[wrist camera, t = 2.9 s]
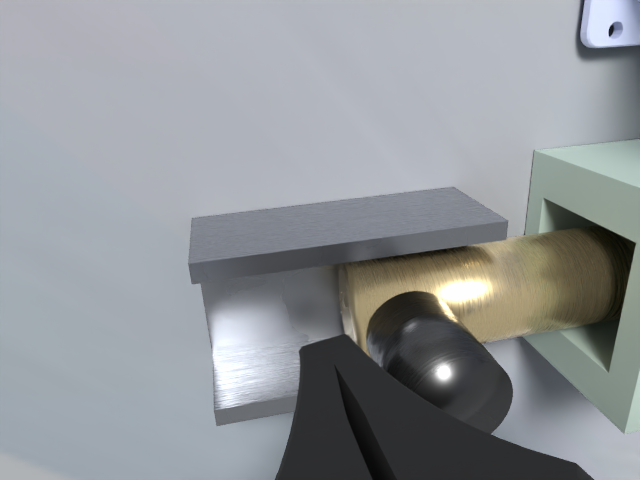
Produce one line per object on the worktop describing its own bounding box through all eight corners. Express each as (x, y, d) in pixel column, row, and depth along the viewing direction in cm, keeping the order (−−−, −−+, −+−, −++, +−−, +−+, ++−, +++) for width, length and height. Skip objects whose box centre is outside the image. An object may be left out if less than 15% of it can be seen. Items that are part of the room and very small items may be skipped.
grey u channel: (453, 186, 18) (508, 220, 14) (446, 318, 20) (492, 373, 16) (191, 218, 16) (188, 264, 13) (214, 357, 18) (216, 426, 15)
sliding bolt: (583, 211, 18) (761, 295, 12) (570, 290, 19) (726, 401, 13) (336, 244, 16) (407, 359, 11) (340, 328, 17) (405, 471, 12)
